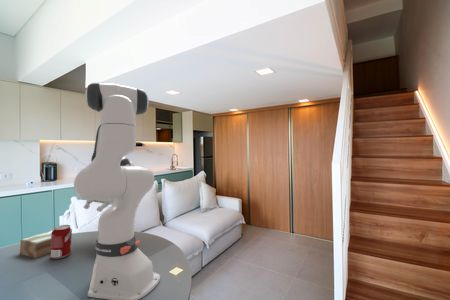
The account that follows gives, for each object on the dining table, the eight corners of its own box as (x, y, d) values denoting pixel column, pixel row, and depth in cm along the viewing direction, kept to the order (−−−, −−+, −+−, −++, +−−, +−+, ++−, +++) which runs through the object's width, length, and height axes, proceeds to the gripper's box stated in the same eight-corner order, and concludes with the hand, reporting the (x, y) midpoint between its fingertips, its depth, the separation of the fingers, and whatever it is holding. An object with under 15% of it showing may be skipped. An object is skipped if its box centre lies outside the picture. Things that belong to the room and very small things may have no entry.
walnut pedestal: (61, 248, 95) (62, 234, 95) (35, 258, 85) (36, 243, 86) (46, 244, 98) (47, 231, 98) (19, 253, 89) (20, 239, 89)
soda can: (59, 260, 84) (61, 230, 84) (45, 258, 85) (47, 228, 86) (74, 253, 90) (76, 225, 91) (61, 251, 92) (63, 223, 92)
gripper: (93, 180, 111) (73, 203, 102) (121, 184, 103) (101, 208, 94) (101, 188, 115) (82, 210, 106) (128, 191, 107) (110, 216, 98)
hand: (91, 209), depth 100 cm, fingers open, 8 cm apart
